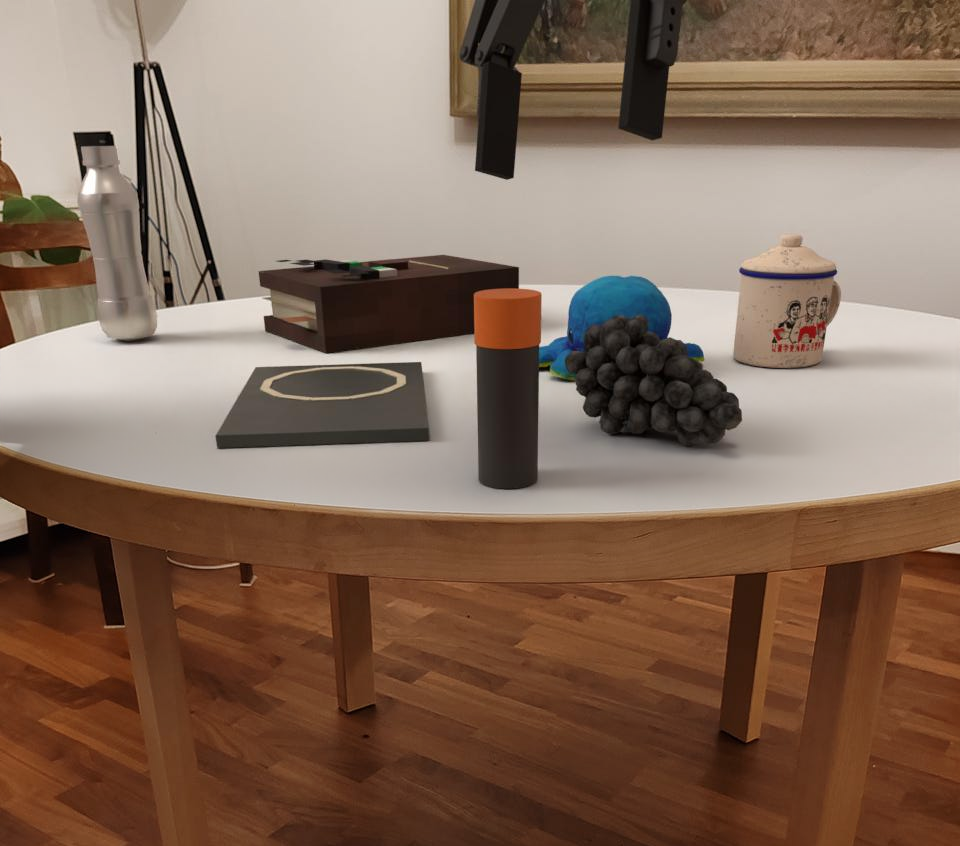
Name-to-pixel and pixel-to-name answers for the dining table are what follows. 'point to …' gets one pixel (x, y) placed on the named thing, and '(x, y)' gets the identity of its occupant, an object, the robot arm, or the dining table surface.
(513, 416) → the marker
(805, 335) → the teacup with lid
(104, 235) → the metal water bottle
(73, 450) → the dining table surface
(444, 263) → the decorative book
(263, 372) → the slate board
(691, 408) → the fruit
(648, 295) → the plush toy
